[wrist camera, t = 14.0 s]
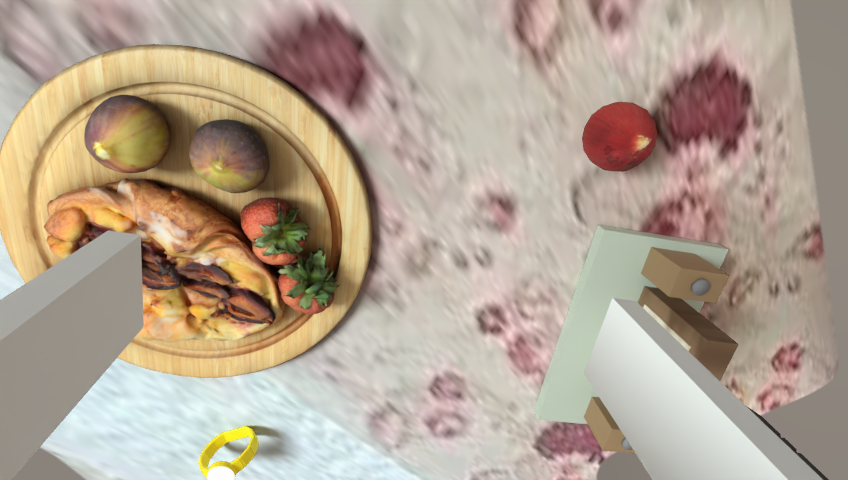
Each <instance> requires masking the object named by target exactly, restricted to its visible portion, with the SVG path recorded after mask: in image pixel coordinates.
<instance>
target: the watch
mask: <svg viewBox="0 0 848 480" xmlns="http://www.w3.org/2000/svg"><path fill="white" fill-rule="evenodd" d="M248 436H249V437H251V440H250V442H249V444H248V447H247V448H246V449H245V450H244V452H243V453H242V454H241V455H240V456H239V458H237V459H235V460H234V461H232V462H231V463H229V462H225V461H220V462H216V463H213V464H212V465H211V466H210V467H209V469H208V468H207V467H208V464H209V461H210V459H211V458H212V456H213V455H214V454H215V453H216V451H217V450H218V449H219V448H221V447H222V446H223V445H225V444H226V443H227V442H230V441H233V440H237V439H241V438H244V437H248ZM258 446H259V443H258V438H257V436H256V434H255V433H254V431H253V429H251V428H249V427H247V426H244V427H241V428H237V429H234V430H230V431H227V432H223V433H221V434H219V435H218V436H217V437H215V438H214V439H213V440H212V441H210V443H209V444H208V445H207V446H206V447H205V449H204V450H203V452H202V453H201V456H200V459H199V461H198V462H199V463H198V464H199V467H200V470H201V471H202V473H203V474H204V476H205V477H206V478H207V479H208V480H234V479H235V476H236V473H237V472H239V471H240V470H242V469H243V468H244V467H246V465H247V464H248V463H249V462H250V461H251V460H252V458H253V457H254V456H255V454H256V451H257V449H258Z"/></svg>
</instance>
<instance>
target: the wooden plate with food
mask: <svg viewBox="0 0 848 480" xmlns="http://www.w3.org/2000/svg"><path fill="white" fill-rule="evenodd" d="M108 230H109V231H116V232H124V233H131V234H139V235H141V259H142V291H143V324H144V327H143V328H142V329H141V331H140V332H139V333H138V334H137V335H136V336H135V337H134V339H133V340H132V341H131V342H130V343H129V344H128V346H127V347H126V348H125V349H124V350H123V351H122V353H121V354H120V355H119V356H118V357H117V358H119V359H122V360H124V361H126V362H128V363H131V364H134V365H137V366H140V367H143V368H146V369H150V370H154V371H159V372H163V373H169V374H174V375H180V376H189V377H200V378H218V377H231V376H238V375H243V374H249V373H253V372H258V371H261V370H265V369H268V368H271V367H274V366H276V365H279V364H282V363H284V362H287V361H289V360H291V359H293V358H295V357H297V356H299V355H300V354H302V353H304V352H305V351H307V350H308V349H310V348H311V347H313V346H314V345H316V344H317V343H318V342H319V341H321V340H322V339H323V338H324V337H325V336H326V335H327V334H328V333H329V332H330V331H332V330H333V329H334V327H335V326H336V325H337V324H338V323H339V322H340V321H341V320H342V319H343V318H344V316H345V315H346V314H347V312H348V311H349V309H350V307H351V306H352V304H353V303H354V301H355V299H356V297H357V295H358V293H359V291H360V288H361V286H362V284H363V281H364V278H365V275H366V272H367V269H368V265H369V261H370V256H371V249H372V217H371V209H370V204H369V199H368V194H367V190H366V187H365V184H364V181H363V178H362V175H361V172H360V170H359V168H358V165H357V163H356V161H355V159H354V157H353V155H352V153H351V151H350V149H349V148H348V146H347V145H346V143H345V141H344V140H343V139H342V137H341V136H340V134H339V133H338V132H337V130H336V129H335V127H334V126H333V125H332V124H331V122H330V121H329V120H328V119H327V118H326V117H325V116H324V115H323V114H322V113H321V112H320V111H319V110H318V109H317V108H316V107H315V106H314V105H313V104H312V103H311V102H310V101H309V100H308V99H306V98H305V97H304V96H303V95H302V94H300V93H299V92H298V91H297V90H295V89H294V88H293V87H291V86H290V85H289V84H287V83H286V82H285V81H283V80H281V79H280V78H278V77H276V76H275V75H273V74H272V73H270V72H268V71H266V70H264V69H262V68H260V67H257V66H255V65H253V64H251V63H248V62H246V61H244V60H242V59H239V58H235V57H232V56H229V55H226V54H223V53H219V52H215V51H211V50H207V49H202V48H197V47H190V46H181V45H155V44H153V45H137V46H132V47H126V48H121V49H116V50H111V51H107V52H104V53H101V54H98V55H95V56H92V57H90V58H88V59H85V60H83V61H81V62H79V63H76V64H74V65H72V66H70V67H68V68H66V69H65V70H63V71H62V72H60V73H59V74H57V75H56V76H54V77H53V78H51V79H50V80H48V81H47V82H45V83H44V84H43V85H42V86H41V87H40V88H39V89H38V90H37V91H36V92H35V93H34V94H33V95H32V96H31V97H30V98H29V100H28V101H27V102H26V104H25V105H24V106H23V107H22V109H21V110H20V111H19V113H18V114H17V115H16V117H15V119H14V121H13V123H12V125H11V127H10V129H9V130H8V132H7V134H6V136H5V138H4V140H3V143H2V146H1V150H0V231H1V235H2V237H3V240H4V243H5V245H6V248H7V250H8V253H9V255H10V257H11V260H12V262H13V263H14V265H15V267H16V269H17V270H18V272H19V274H20V275H21V277H22V279H23V280H24V282H25V283H28V282H29V281H31V280H32V279H34V278H35V277H37V276H38V275H40V274H42V273H43V272H45V271H46V270H48V269H49V268H51V267H52V266H54V265H55V264H57V263H59V262H60V261H62V260H63V259H65V258H66V257H68V256H69V255H71V254H72V253H74V252H76V251H77V250H79V249H80V248H82V247H83V246H85V245H86V244H88V243H89V242H91V241H93V240H94V239H96V238H97V237H99V236H100V235H102V234H103V233H105V232H106V231H108Z"/></svg>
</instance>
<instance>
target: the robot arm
mask: <svg viewBox="0 0 848 480" xmlns="http://www.w3.org/2000/svg"><path fill="white" fill-rule="evenodd" d="M143 327H144V324H143V291H142V259H141V235H139V234H131V233H124V232H116V231H109V230H108V231H106V232H105V233H103V234H102V235H100V236H99V237H97V238H96V239H94V240H93V241H91V242H89V243H88V244H86V245H85V246H83V247H82V248H80V249H79V250H77V251H76V252H74V253H72V254H71V255H69V256H68V257H66V258H65V259H63V260H62V261H60V262H59V263H57V264H55V265H54V266H52V267H51V268H49V269H48V270H46V271H45V272H43V273H42V274H40V275H38V276H37V277H35V278H34V279H32V280H31V281H29V282H28V283H26V284H24V285H23V286H21V287H20V288H18V289H17V290H15V291H14V292H12V293H11V294H9V295H7V296H6V297H4V298H3V299H1V300H0V480H12V478H13V477H14V476H15V475H16V474H17V473H18V472H19V470H20V469H21V468H22V467H23V466H24V465H25V463H26V462H27V461H28V460H29V459H30V458H31V456H32V455H33V454H34V453H35V452H36V451H37V450H38V448H39V447H40V446H41V445H42V444H43V443H44V441H45V440H46V439H47V438H48V437H49V436H50V435H51V433H52V432H53V431H54V430H55V429H56V428H57V426H58V425H59V424H60V423H61V422H62V421H63V420H64V418H65V417H66V416H67V415H68V414H69V413H70V411H71V410H72V409H73V408H74V407H75V406H76V405H77V403H78V402H79V401H80V400H81V399H82V398H83V396H84V395H85V394H86V393H87V392H88V391H89V389H90V388H91V387H92V386H93V385H94V384H95V383H96V381H97V380H98V379H99V378H100V377H101V376H102V374H103V373H104V372H105V371H106V370H107V369H108V368H109V366H110V365H111V364H112V363H113V362H114V361H115V359H116V358H117V357H118V356H119V355H120V354H121V353H122V351H123V350H124V349H125V348H126V347H127V346H128V344H129V343H130V342H131V341H132V340H133V339H134V337H135V336H136V335H137V334H138V333H139V332H140V331H141V329H142V328H143ZM584 374H585V376H586V377H587V379H588V380H589V382H590V384H591V385H592V387H593V388H594V390H595V391H596V393H597V394H598V396H599V398H600V399H601V401H602V402H603V404H604V405H605V407H606V408H607V410H608V411H609V413H610V415H611V416H612V418H613V419H614V421H615V422H616V424H617V425H618V427H619V428H620V430H621V432H622V433H623V435H624V436H625V438H626V439H627V441H628V442H629V444H630V445H631V447H632V449H633V450H634V452H635V453H636V455H637V456H638V458H639V459H640V461H641V462H642V464H643V465H644V467H645V469H646V470H647V472H648V473H649V475H650V476H651V478H652V479H653V480H828V479H827V478H826V477H825V476H824V475H823V474H822V473H821V472H820V471H819V470H818V469H817V468H816V467H815V466H814V465H812V464H811V463H810V462H809V461H808V460H807V459H806V458H805V457H804V456H803V455H802V454H800V453H797V452H796V449H795V448H794V447H793V446H792V445H791V444H790V443H789V442H788V441H787V440H786V439H785V438H781V437H780V433H779V432H777V431H776V430H775V429H774V428H773V427H772V426H771V425H770V424H769V423H768V422H767V421H766V420H765V419H764V418H763V417H762V416H760V415H759V414H757V413H756V412H754V411H753V410H751V409H750V408H748V407H747V406H745V405H744V404H743V403H742V402H741V401H740V400H739V399H738V398H737V397H736V396H735V395H734V394H733V393H732V392H731V391H730V390H729V389H727V388H726V387H725V386H724V385H723V384H722V383H721V382H720V381H719V380H718V379H717V378H716V377H715V376H714V375H713V374H712V373H711V372H710V371H709V370H708V369H706V368H705V367H704V366H703V365H702V364H701V363H700V362H699V361H698V360H697V359H696V358H695V357H694V356H693V355H692V354H691V353H690V352H689V351H688V350H687V349H686V348H684V347H683V346H682V345H681V344H680V343H679V342H678V341H677V340H676V339H675V338H674V337H673V336H672V335H671V334H670V333H669V332H668V331H667V330H666V329H665V328H663V327H662V326H661V325H660V324H659V323H658V322H657V321H656V320H655V319H654V318H653V317H652V316H651V315H650V314H649V313H648V312H647V311H646V310H645V309H644V308H643V307H641V306H640V305H639V304H638V303H637V302H636V301H632V300H625V299H617V298H612V300H611V303H610V306H609V308H608V311H607V313H606V316H605V319H604V321H603V324H602V327H601V329H600V332H599V334H598V337H597V340H596V342H595V345H594V348H593V350H592V353H591V355H590V358H589V361H588V363H587V366H586V369H585V371H584Z"/></svg>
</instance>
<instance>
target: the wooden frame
mask: <svg viewBox="0 0 848 480" xmlns="http://www.w3.org/2000/svg"><path fill="white" fill-rule="evenodd" d="M638 304H639V305H640V306H641V307H643V308H644V309H645V310H646V311H647V312H648V313H649V314H650V315H651V316H652V317H653V318H654V319H655V320H656V321H657V322H658V323H659V324H660V325H661V326H662V327H663V328H665V329H666V330H667V331H668V332H669V333H670V334H671V335H672V336H673V337H674V338H675V339H676V340H677V341H678V342H679V343H680V344H681V345H682V346H683V347H684V348H686V349H687V350H688V351H689V352H690V353H691V354H692V355H693V356H694V357H695V358H696V359H697V360H698V361H699V362H700V363H701V364H702V365H703V366H704V367H705V368H706V369H708V370H709V371H710V372H711V373H712V374H713V375H714V376H715V377H716V378H717V379H718V380H719V381H720V380H721V378H722V376H723V374H724V372H725V370H726V368H727V366H728V364H729V362H730V360H731V358H732V356H733V354H734V352H735V350H736V348H737V346H738V344H737V343H736V342H735V341H734V340H732V339H731V338H730V337H729V336H727V335H726V334H725V333H724V332H722V331H721V330H720V329H719V328H717V327H716V326H715V325H714V324H712V323H711V322H710V321H709V320H707V319H706V318H705V317H704V316H702V315H701V314H700V313H699V312H697V311H696V310H695V309H694V308H692V307H691V306H690V305H689V304H687V303H686V302H685V301H684V300H682V299H681V298H674V297H669V296H667V295H666V294H665V293H664V292H663V291H661V290H660V289H659V288H656V287H649V286H644V288H643V290H642V293H641V295H640V298H639V300H638Z"/></svg>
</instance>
